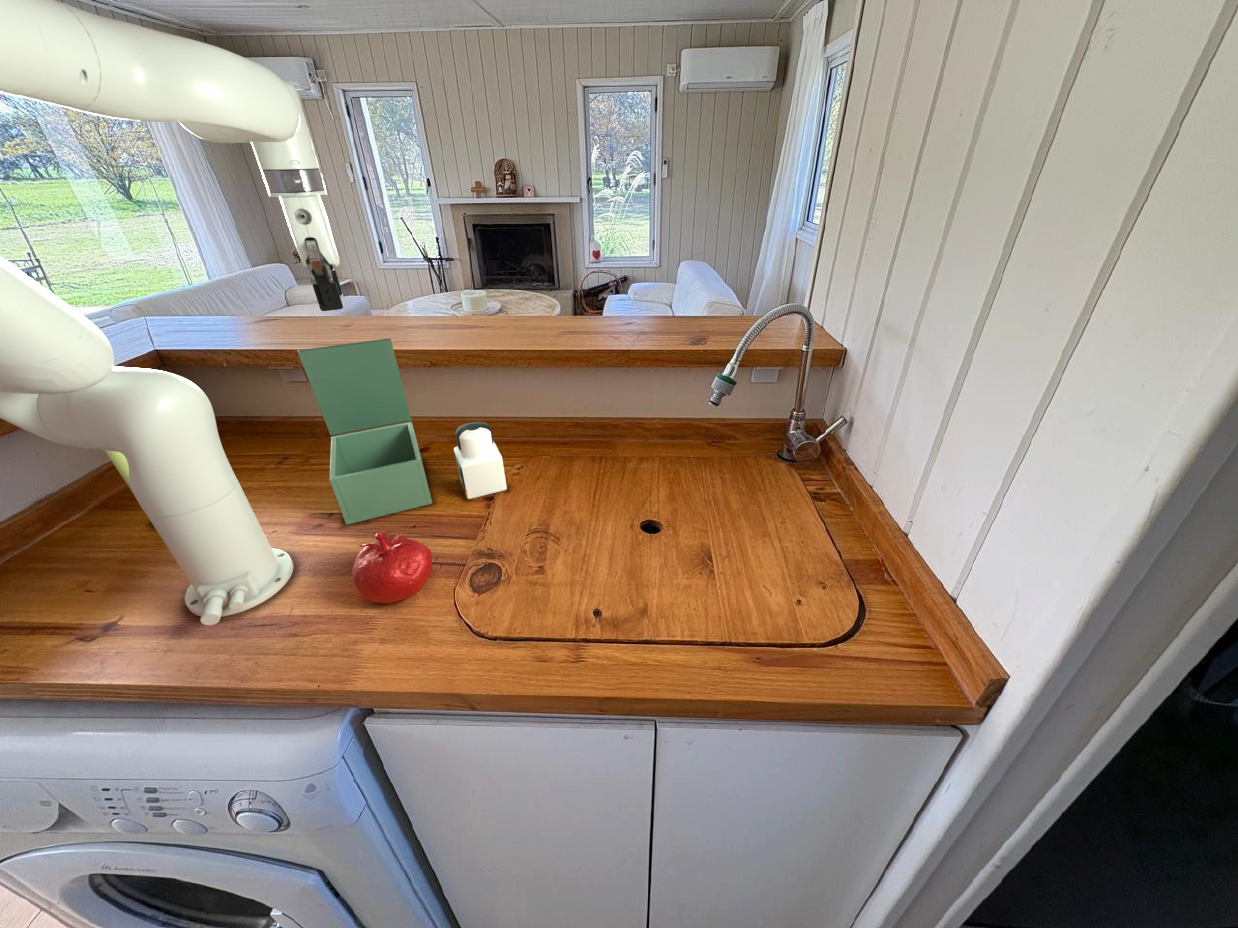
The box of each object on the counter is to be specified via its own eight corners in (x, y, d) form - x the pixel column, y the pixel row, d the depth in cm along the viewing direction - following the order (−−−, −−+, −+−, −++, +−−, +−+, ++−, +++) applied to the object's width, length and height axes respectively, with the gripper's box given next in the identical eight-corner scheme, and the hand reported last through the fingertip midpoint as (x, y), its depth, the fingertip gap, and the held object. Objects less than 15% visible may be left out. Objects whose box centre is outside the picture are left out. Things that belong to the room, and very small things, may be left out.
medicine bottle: (460, 480, 92) (447, 422, 86) (498, 471, 95) (489, 414, 88) (467, 500, 87) (454, 440, 80) (507, 490, 89) (498, 431, 83)
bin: (432, 503, 86) (421, 460, 81) (346, 525, 81) (329, 480, 76) (421, 461, 98) (411, 421, 93) (345, 477, 93) (331, 436, 88)
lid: (391, 340, 82) (390, 338, 83) (297, 352, 77) (297, 350, 78) (411, 420, 93) (410, 418, 93) (330, 435, 88) (330, 433, 88)
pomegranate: (424, 612, 65) (408, 560, 60) (348, 614, 65) (325, 561, 60) (445, 560, 74) (432, 510, 69) (378, 561, 74) (360, 511, 69)
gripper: (322, 186, 68) (359, 312, 77) (324, 180, 81) (355, 289, 90) (258, 188, 65) (304, 319, 74) (271, 182, 78) (309, 293, 87)
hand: (332, 302), depth 82 cm, fingers open, 9 cm apart
